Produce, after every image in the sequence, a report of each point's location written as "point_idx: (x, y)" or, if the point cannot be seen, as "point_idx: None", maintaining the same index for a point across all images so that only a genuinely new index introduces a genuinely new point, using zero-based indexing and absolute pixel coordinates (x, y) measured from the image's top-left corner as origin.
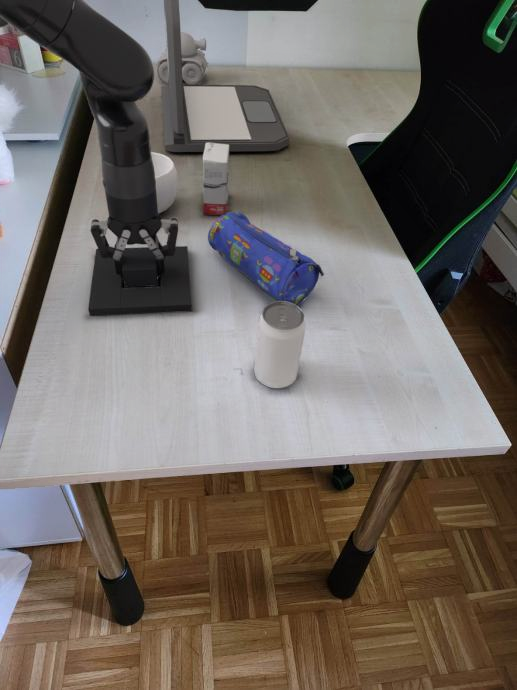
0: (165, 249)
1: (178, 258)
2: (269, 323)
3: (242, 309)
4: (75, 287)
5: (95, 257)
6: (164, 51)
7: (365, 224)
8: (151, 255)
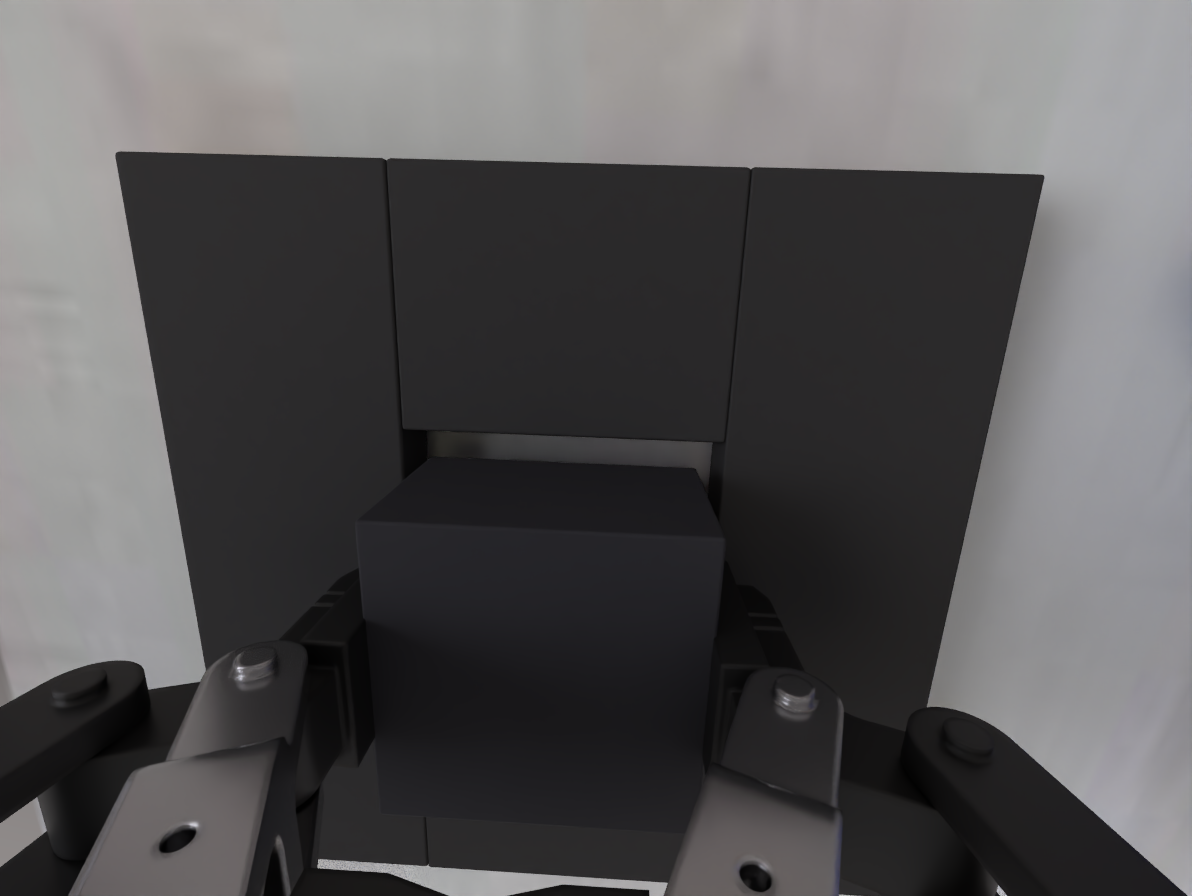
0: (885, 888)
1: (903, 390)
2: None
3: (1176, 862)
4: (121, 558)
5: (145, 304)
6: None
7: None
8: (667, 634)
